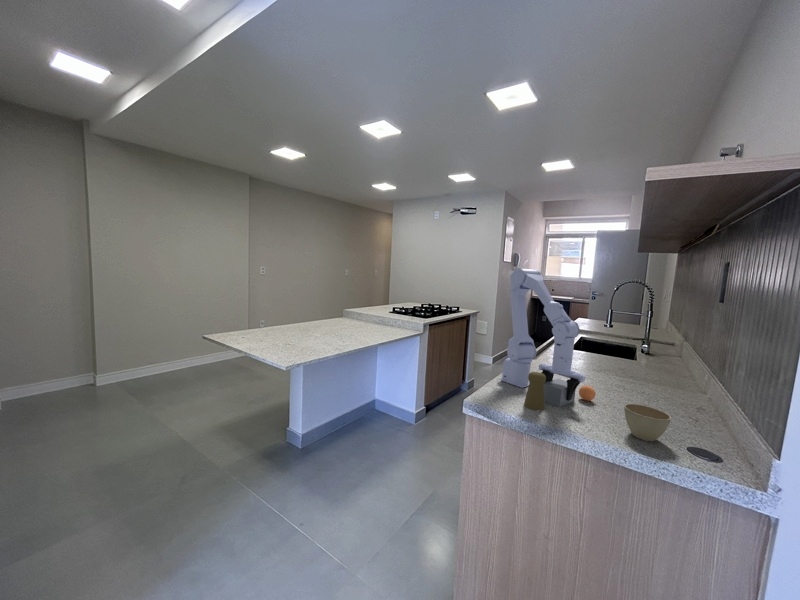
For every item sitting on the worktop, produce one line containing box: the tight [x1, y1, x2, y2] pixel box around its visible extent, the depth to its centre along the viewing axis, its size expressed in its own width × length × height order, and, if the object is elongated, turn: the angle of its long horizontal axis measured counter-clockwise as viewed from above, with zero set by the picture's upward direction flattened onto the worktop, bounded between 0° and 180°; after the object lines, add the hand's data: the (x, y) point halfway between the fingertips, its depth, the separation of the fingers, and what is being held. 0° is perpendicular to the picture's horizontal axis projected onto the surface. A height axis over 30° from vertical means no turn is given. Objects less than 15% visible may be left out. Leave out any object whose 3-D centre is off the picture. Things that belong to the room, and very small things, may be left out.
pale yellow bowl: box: [623, 403, 672, 442], centre depth 86 cm, size 10×10×7 cm
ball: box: [578, 385, 596, 402], centre depth 111 cm, size 5×5×5 cm
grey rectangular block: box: [543, 378, 577, 408], centre depth 108 cm, size 6×11×6 cm, turn 129°
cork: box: [523, 371, 546, 411], centre depth 102 cm, size 6×6×11 cm
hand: (558, 396), depth 108 cm, fingers closed on grey rectangular block, 6 cm apart
